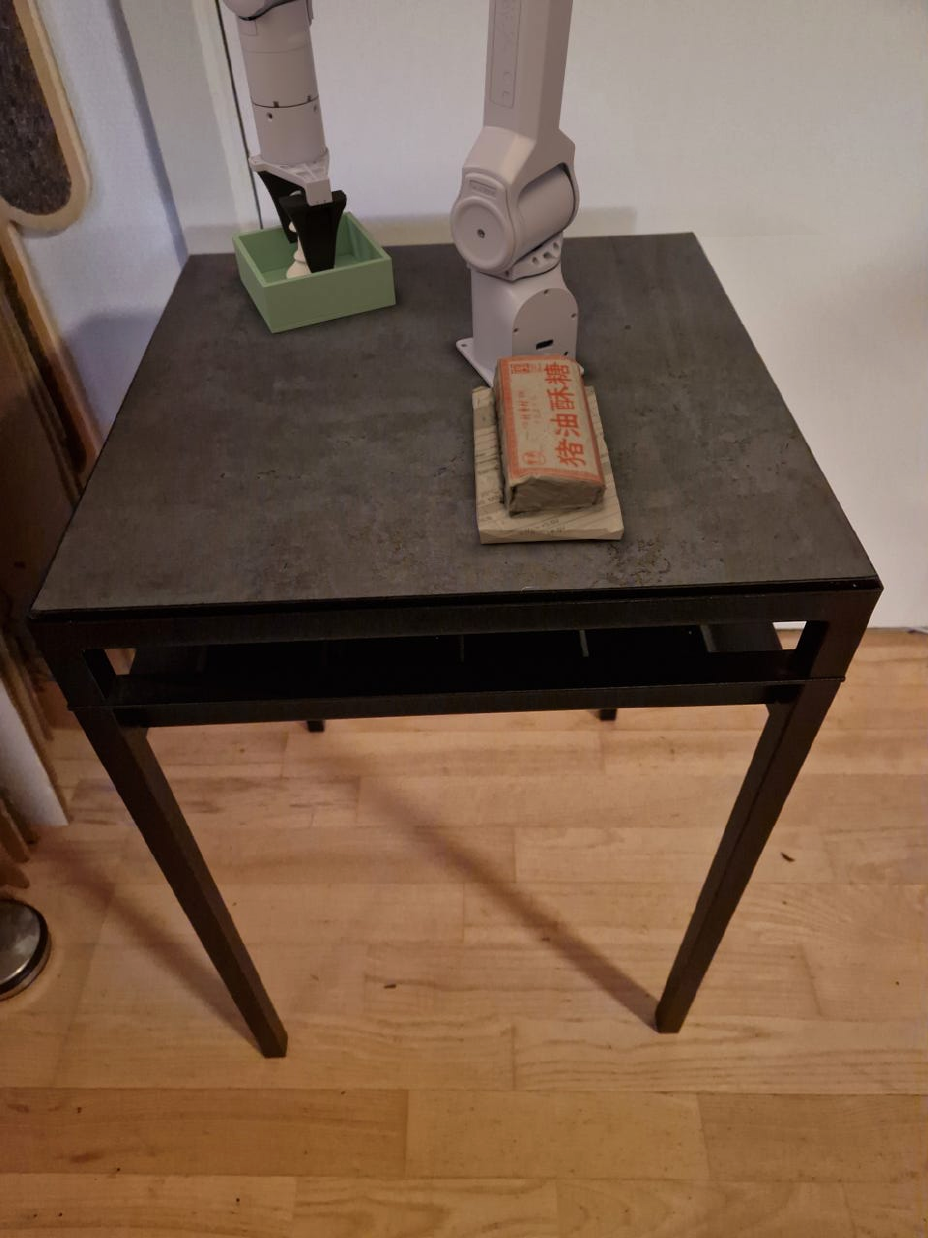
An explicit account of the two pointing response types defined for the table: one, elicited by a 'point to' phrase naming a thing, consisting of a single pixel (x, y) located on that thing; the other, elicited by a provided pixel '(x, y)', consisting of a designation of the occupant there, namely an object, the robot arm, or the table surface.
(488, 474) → the packaged product
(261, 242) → the open green box
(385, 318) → the table surface
